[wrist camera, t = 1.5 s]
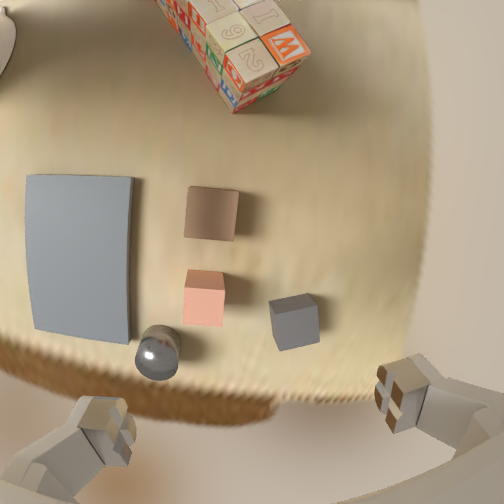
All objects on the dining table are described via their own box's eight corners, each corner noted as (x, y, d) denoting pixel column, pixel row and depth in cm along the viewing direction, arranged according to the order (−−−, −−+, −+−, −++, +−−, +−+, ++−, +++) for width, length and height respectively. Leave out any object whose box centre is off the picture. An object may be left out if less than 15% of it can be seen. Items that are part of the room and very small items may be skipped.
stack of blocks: (146, -8, 26) (129, -64, 14) (190, -28, 26) (188, -87, 14) (232, 115, 32) (245, 83, 20) (279, 90, 32) (314, 52, 20)
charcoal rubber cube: (272, 335, 39) (279, 351, 35) (268, 300, 38) (275, 314, 34) (309, 327, 39) (319, 341, 36) (307, 292, 38) (317, 305, 34)
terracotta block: (186, 301, 36) (182, 324, 30) (188, 269, 35) (184, 287, 29) (219, 303, 37) (221, 326, 31) (222, 272, 36) (225, 290, 30)
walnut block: (186, 230, 34) (183, 237, 30) (190, 186, 33) (188, 187, 29) (230, 234, 35) (233, 241, 31) (235, 190, 34) (239, 192, 30)
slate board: (39, 324, 34) (35, 328, 33) (32, 174, 30) (26, 174, 28) (131, 339, 36) (128, 344, 35) (134, 177, 32) (130, 177, 30)
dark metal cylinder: (143, 356, 37) (136, 378, 32) (141, 322, 36) (133, 342, 31) (180, 359, 38) (177, 382, 33) (180, 326, 37) (178, 347, 32)
